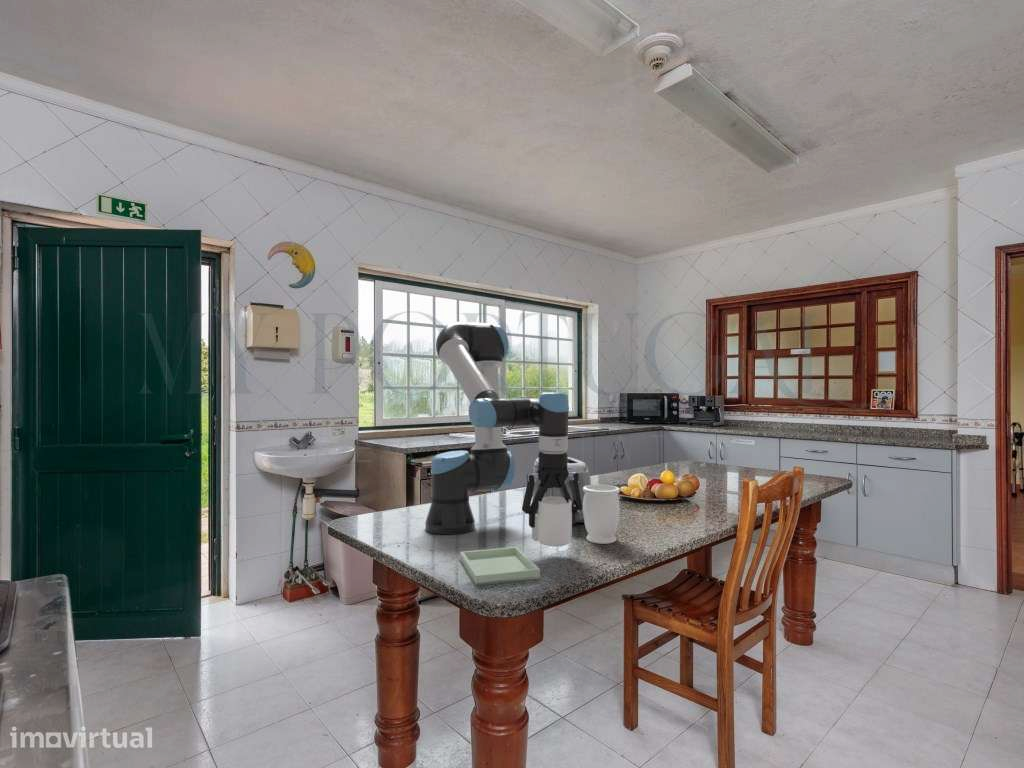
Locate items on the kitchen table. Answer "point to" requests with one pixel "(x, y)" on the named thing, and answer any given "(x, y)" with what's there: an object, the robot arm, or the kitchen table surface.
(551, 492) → the toaster
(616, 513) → the jar
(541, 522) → the mug
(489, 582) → the tray
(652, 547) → the kitchen table surface
